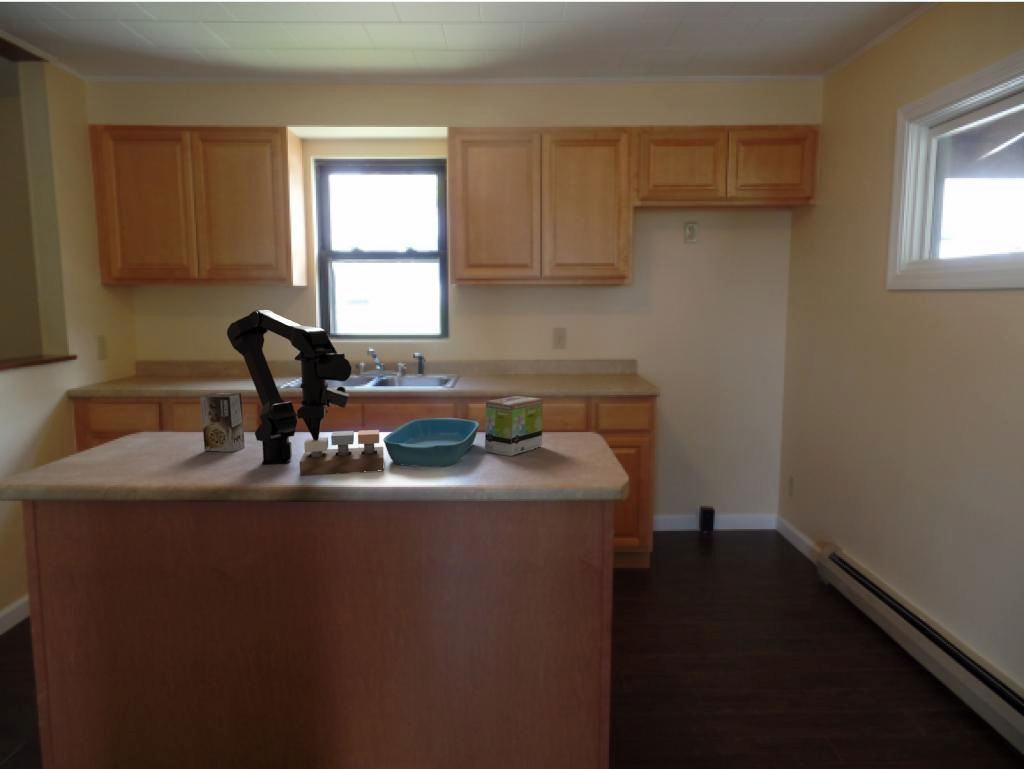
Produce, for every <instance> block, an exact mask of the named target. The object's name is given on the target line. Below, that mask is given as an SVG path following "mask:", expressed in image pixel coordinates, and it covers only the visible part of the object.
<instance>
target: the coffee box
mask: <svg viewBox="0 0 1024 769" xmlns="http://www.w3.org/2000/svg"><path fill="white" fill-rule="evenodd" d="M199 398H200V399H199V400H200V410H201V422H202V433H203V445H204V452H205V451H219V452H221V453H222V452H226V453H227V452H228V453H229V452H230V453H234V451H235V452H237V451H239V450H243V448H244V449H245V447H246V446H245V431H244V416H243V404H242V403H243V402H242V393H239V392H236V393H235V392H212V393H207V394H205V395H201V396H199Z"/></svg>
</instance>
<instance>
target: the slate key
mask: <svg viewBox="0 0 1024 769" xmlns="http://www.w3.org/2000/svg"><path fill="white" fill-rule="evenodd" d="M354 432H355V431H354V430H343V431H332V434H331V435H330V436H331V437H330V438H331V442H330V443H331V446H337V449H338V456H348V455H349V450H348V448H349V446H350V445H354V441H355V435H354V434H355V433H354Z"/></svg>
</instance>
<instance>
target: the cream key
mask: <svg viewBox="0 0 1024 769" xmlns="http://www.w3.org/2000/svg"><path fill="white" fill-rule="evenodd" d="M303 444H304V452H312V457H322V451H327V449H329V438H328V436H325V437H323V436H322V437H320V436H319V439H318V440H314V439H313V437H306V439H305V441H304V443H303Z"/></svg>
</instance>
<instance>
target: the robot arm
mask: <svg viewBox="0 0 1024 769" xmlns="http://www.w3.org/2000/svg"><path fill="white" fill-rule="evenodd" d="M268 332H271V333H273V334H276V335H277V336H280V337H282V338H285V339H286V340H288V341H289V342H290V344H291V346H292V347H293V348H295V349H296V350H297V351H299V353H298V354H297V355H296V356H295V357H294V361H300V371H301V372H300V374H301V376H300V377H301V383H300V389H301V395H302V396H301V397H302V399H301V405H300V406H299V407H298V408H297V410H295V408H294V405H293V403H292V401H287V402H286V401H285V400H284V399H282V398H281V395H280V393H279V390H278V387H277V384H276V381H275V379H274V376H273V373H272V372H271V369H270V366H269V364H268V361H267V359H266V356H265V354H264V351H263V348H264V344H265V337H264V336H265V334H267V333H268ZM327 334H328V332H327V331H326V330H325V329H323V328H319V327H314V326H307V325H302V324H301V325H300V324H299V323H296V322H294V321H292V320H289V319H287V318H285V317H282V316H281V315H278V314H276V313H274V312H273V311H271V310H268V309H263V310H262V309H259V310H254V311H252V312H251V313H250V314H248V315H246V316H244V317H242V318H239V319H238V320H236V321H234V322H231V323H230V325H229V327H228V328H227V331H226V336H227V339H228V341H229V342H230V344H231V345H232V347H233V349H234V350H235V351H236V352H238V353H239V354H240V355H241V356H242V357H243V360H244V361H245V364H246V367H247V369H248V372H249V374H250V377H251V379H252V382H253V385H254V388H255V390H256V392H257V394H258V395H257V396H258V398H259V400H260V403H261V409H260V414H259V417H260V422H261V423H260V425H259V426H258V427H257V429H256V430H255V432H254V436H255V440H256V441H258V442H261V443H262V461H261V464H262V465H269V464H287V463H289V461H290V460H291V459H292V457H293V453H292V452H293V451H292V449H293V448H292V442H291V441H290V438H291V437H295V433H296V430H297V429H296V428H297V425H298V419H299V420H300V419H302V420H303V422H304V423H305V426H306V428H307V429H308V432H309V433H310V436H311V438H313V439H314V440H318V439H319V438H320V433H321V426H322V422H323V419H324V418H325V417H326V416H327V414H328V413H329V410H328V409H326V407H327V408H330V407H331V404H332V405H335V406H338V407H339V408H343V409H344V408H346V405H347V403H348V400H349V397H350V393H349V392H346V387H343V385H339V386H338V387H337V388H331V387H329V384H328V381H334V382H335V381H336V382H346V381H348V379H349V378H350V377H351V374H352V366H351V363H350V361H349V360H348V359H347V358H345V357H346V355H345V353H344V352H343V353H342V352H340V353H338V352H337V350H336V347H334V345H333V343H332V341H331V340H330V338H329V337H328V335H327ZM325 406H326V407H325Z"/></svg>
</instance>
